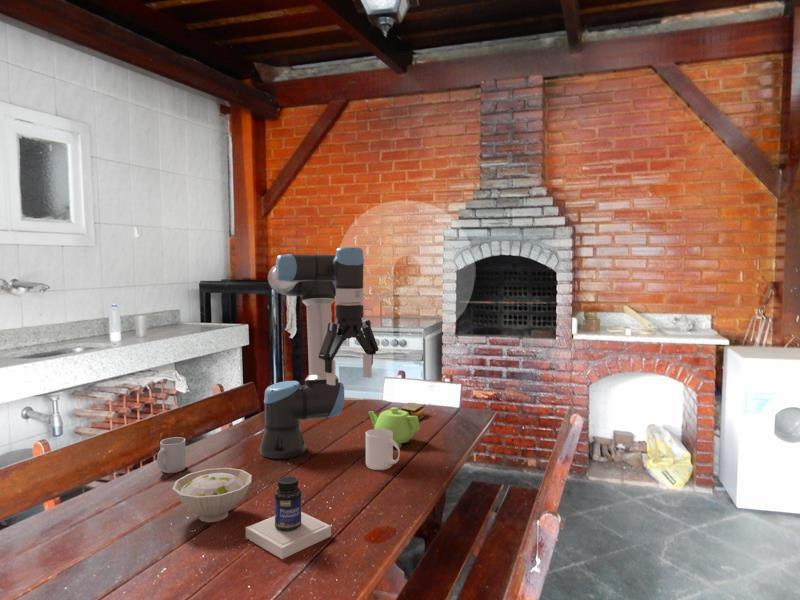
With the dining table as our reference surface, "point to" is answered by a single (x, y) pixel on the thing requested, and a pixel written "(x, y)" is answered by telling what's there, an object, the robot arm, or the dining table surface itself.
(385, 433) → the mug
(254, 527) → the square plate
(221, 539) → the dining table surface
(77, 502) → the dining table surface
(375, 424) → the teapot
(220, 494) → the bowl
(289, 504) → the pill bottle
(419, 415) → the toy sandwich meal
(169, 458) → the cup
